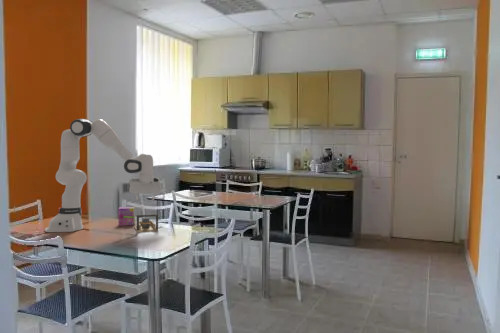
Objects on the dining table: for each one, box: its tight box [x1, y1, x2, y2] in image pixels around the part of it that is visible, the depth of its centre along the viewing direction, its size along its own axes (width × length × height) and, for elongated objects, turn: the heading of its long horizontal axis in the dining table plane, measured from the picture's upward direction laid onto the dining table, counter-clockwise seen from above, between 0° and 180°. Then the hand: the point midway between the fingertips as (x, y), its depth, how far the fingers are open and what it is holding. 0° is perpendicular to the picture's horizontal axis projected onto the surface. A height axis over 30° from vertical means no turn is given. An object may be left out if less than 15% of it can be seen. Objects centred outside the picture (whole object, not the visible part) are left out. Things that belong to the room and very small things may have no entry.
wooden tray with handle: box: [133, 213, 159, 233], centre depth 283 cm, size 13×16×11 cm
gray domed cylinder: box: [141, 217, 151, 228], centre depth 283 cm, size 5×5×6 cm
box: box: [117, 206, 136, 226], centre depth 298 cm, size 10×6×12 cm, turn 97°
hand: (145, 200), depth 282 cm, fingers open, 8 cm apart
